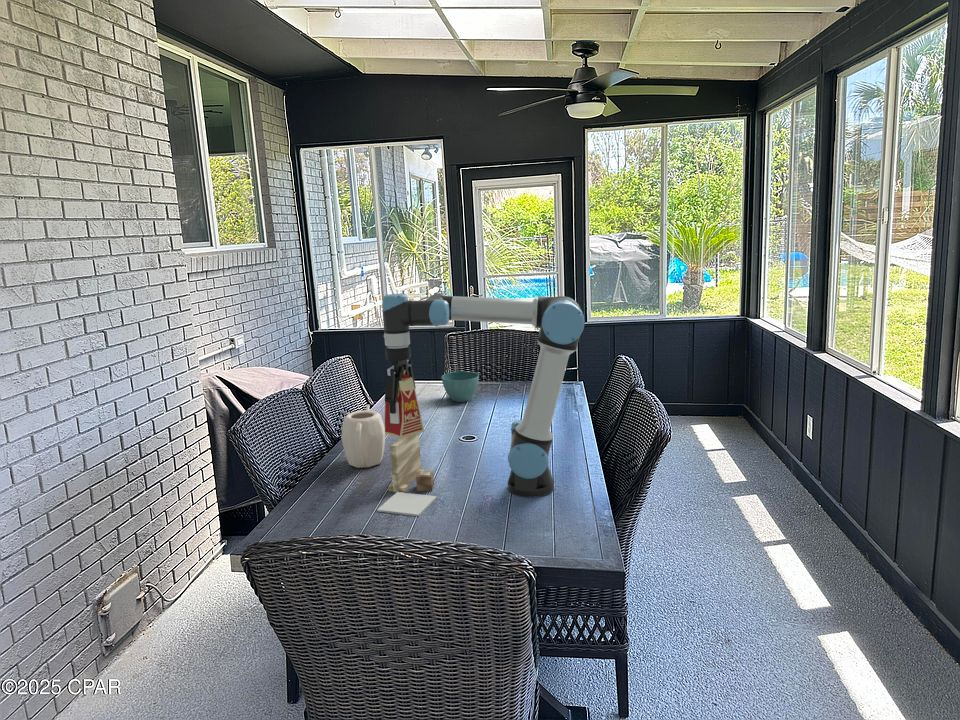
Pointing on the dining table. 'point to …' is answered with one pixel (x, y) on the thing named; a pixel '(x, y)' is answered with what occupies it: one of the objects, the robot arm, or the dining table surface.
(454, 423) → the dining table surface
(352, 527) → the dining table surface
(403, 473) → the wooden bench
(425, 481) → the walnut cube
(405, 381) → the milk carton
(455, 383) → the teal bowl
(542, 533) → the dining table surface
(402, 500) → the mat
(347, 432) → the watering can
